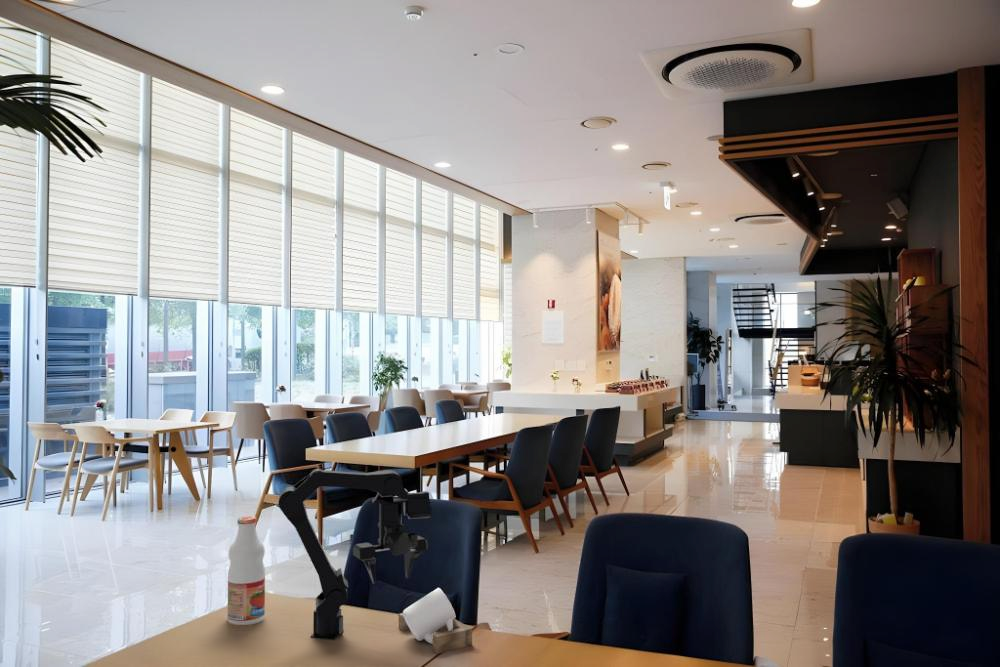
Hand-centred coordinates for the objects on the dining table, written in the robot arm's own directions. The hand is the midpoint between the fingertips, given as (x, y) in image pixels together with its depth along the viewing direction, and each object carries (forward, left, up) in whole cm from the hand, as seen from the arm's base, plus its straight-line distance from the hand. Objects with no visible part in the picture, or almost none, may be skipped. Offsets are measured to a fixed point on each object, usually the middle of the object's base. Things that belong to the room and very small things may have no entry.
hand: (390, 580), depth 201 cm
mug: (+8, -7, -11) cm, 15 cm away
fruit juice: (-40, -2, -13) cm, 42 cm away
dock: (+12, -1, -13) cm, 18 cm away
